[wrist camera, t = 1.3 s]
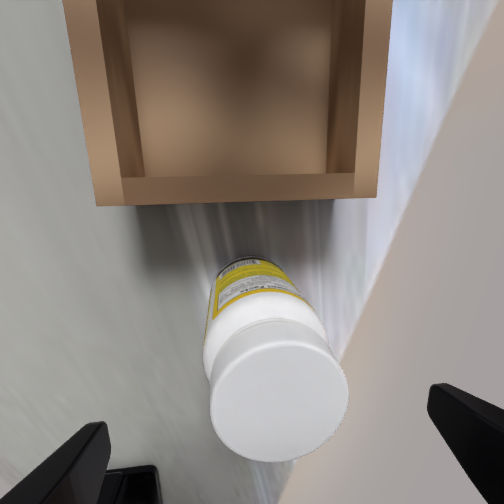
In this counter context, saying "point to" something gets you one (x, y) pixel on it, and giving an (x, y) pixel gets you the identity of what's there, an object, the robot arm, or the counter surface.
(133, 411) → the counter surface
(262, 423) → the supplement bottle
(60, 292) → the counter surface
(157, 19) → the walnut box
